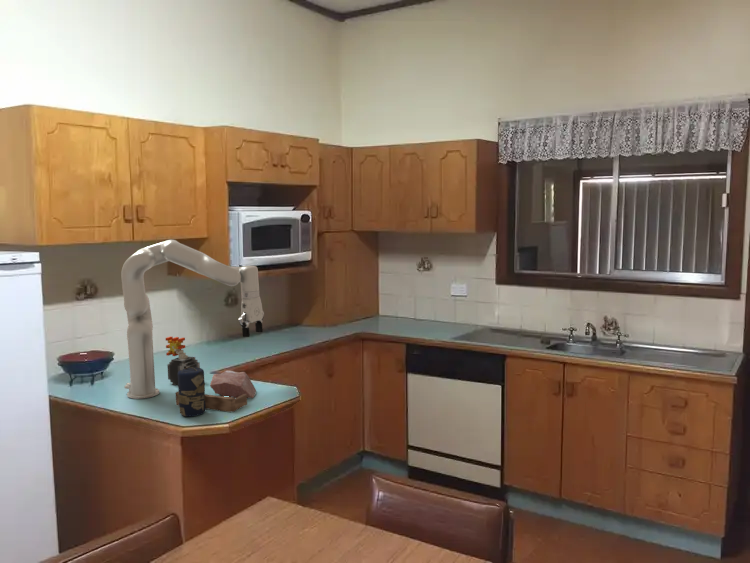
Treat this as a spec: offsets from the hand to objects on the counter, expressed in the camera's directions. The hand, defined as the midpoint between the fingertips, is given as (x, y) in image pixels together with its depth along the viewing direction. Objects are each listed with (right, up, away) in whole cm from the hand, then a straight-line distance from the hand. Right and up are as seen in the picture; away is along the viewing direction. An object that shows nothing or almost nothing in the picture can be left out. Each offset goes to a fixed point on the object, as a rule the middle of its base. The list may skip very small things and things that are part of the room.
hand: (252, 334), depth 282 cm
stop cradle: (-11, -25, -25) cm, 38 cm away
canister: (-16, -27, -36) cm, 48 cm away
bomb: (-32, -22, +6) cm, 39 cm away
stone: (-5, -24, -11) cm, 27 cm away
